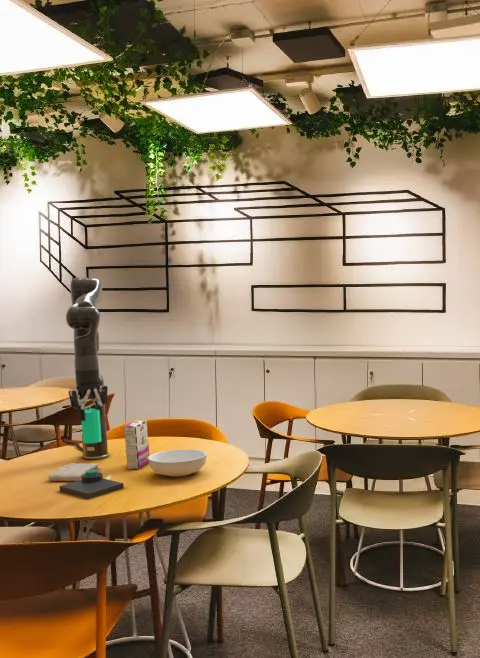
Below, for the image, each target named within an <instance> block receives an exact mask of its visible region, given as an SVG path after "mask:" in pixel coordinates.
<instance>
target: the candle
mask: <svg viewBox="0 0 480 658" xmlns="http://www.w3.org/2000/svg"><path fill="white" fill-rule="evenodd" d="M80 422H81V437H82V436H83V443H98V442H101V427H100V412H99V410H97V409H92V408H91V409H86V410H85V421H80Z"/></svg>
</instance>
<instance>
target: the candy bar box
mask: <svg viewBox="0 0 480 658" xmlns="http://www.w3.org/2000/svg"><path fill="white" fill-rule="evenodd" d="M123 433H124V445H125V455H126V457H125V458H126V468H127V470H140V469H141V468H143V467H144V466H146V465H147V464H149V461H148V457H149V456H150V444H149V432H148V420H134V421H132V422H131V423H129V424H126V425H124V427H123Z"/></svg>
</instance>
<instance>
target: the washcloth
mask: <svg viewBox="0 0 480 658" xmlns="http://www.w3.org/2000/svg"><path fill="white" fill-rule="evenodd" d="M88 470H100V467H99V463H97V462H96V463H95V462H92V463H83V462H69V463H68V464H65V465H64V464H63V465H62V466H60V467H59V468H57V469H55V470H54V471H52V472H50V473H49V475H48V477H47V479H48V481H51V482H76V481H79V480H82V478H81V476H82V475H83V474H86V471H88Z"/></svg>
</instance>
